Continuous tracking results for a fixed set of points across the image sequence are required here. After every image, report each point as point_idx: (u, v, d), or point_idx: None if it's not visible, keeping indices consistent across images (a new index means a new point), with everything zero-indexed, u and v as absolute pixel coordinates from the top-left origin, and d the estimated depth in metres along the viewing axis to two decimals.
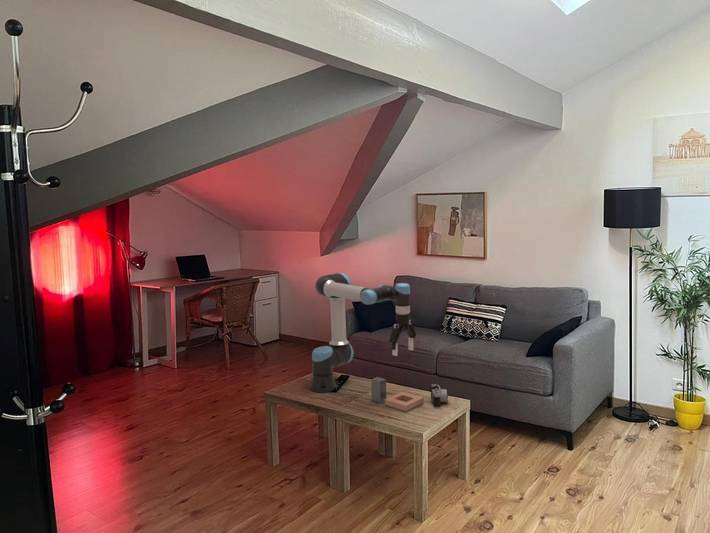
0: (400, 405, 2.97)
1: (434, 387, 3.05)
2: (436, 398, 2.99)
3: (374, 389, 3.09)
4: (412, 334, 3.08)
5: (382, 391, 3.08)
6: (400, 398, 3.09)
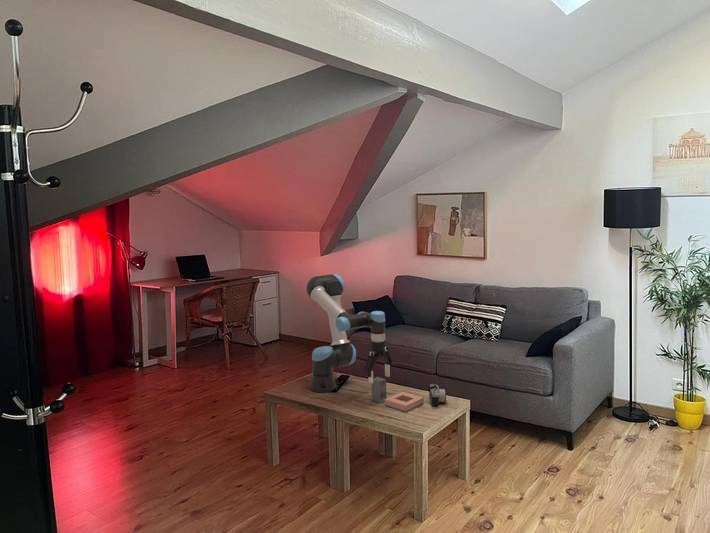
0: (400, 405, 2.97)
1: (432, 387, 3.05)
2: (434, 398, 2.99)
3: (374, 389, 3.09)
4: (388, 361, 3.12)
5: (382, 391, 3.08)
6: (400, 398, 3.09)
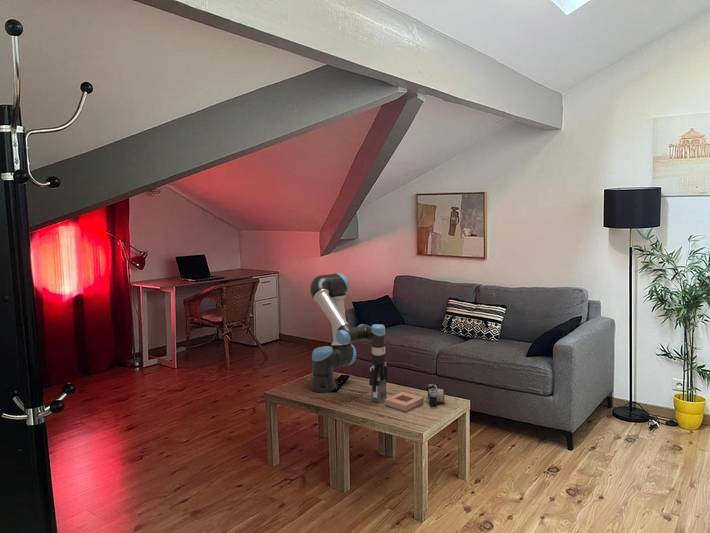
0: (400, 405, 2.97)
1: (431, 387, 3.05)
2: (432, 398, 2.99)
3: None
4: (384, 378, 3.11)
5: (382, 391, 3.08)
6: (400, 398, 3.09)
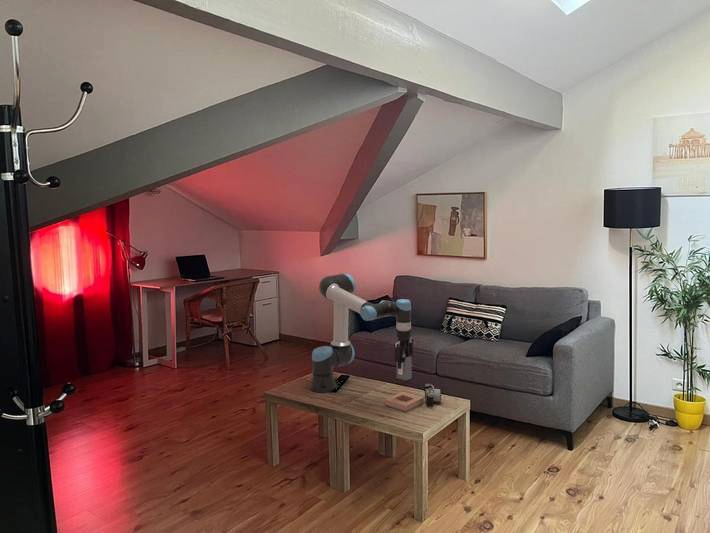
0: (400, 405, 2.97)
1: (427, 387, 3.05)
2: (429, 398, 3.00)
3: None
4: None
5: (408, 367, 3.00)
6: (400, 398, 3.09)
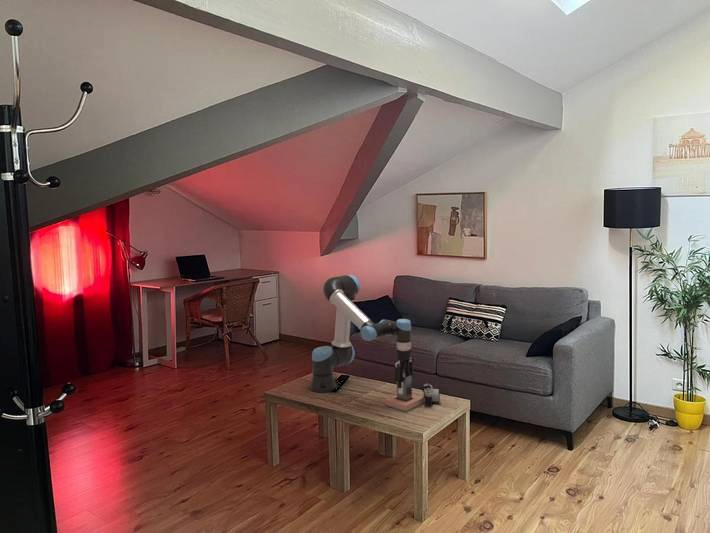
0: (400, 405, 2.97)
1: (426, 387, 3.05)
2: (427, 398, 3.00)
3: None
4: (409, 374, 3.04)
5: (408, 387, 3.01)
6: (400, 398, 3.09)
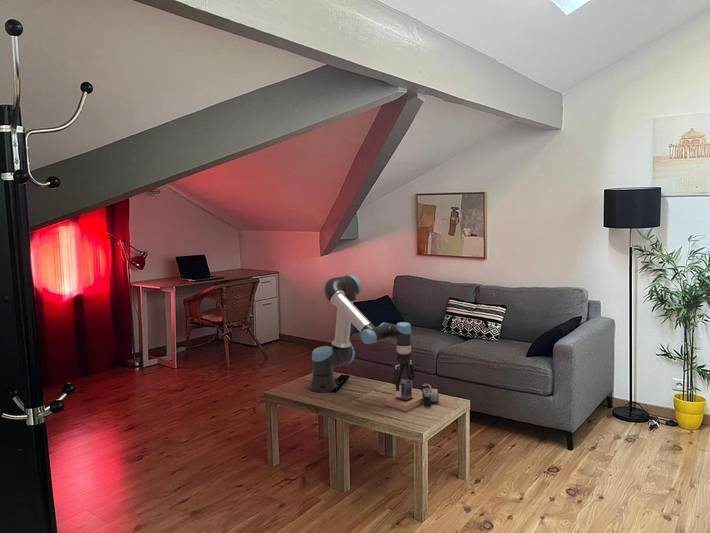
0: (400, 405, 2.97)
1: (425, 387, 3.06)
2: (426, 398, 3.00)
3: None
4: (411, 376, 3.05)
5: (408, 393, 3.02)
6: None
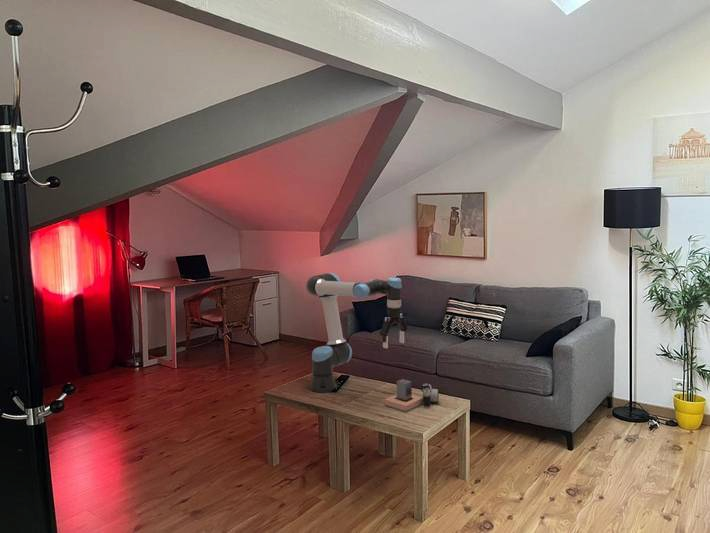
0: (400, 405, 2.97)
1: (425, 387, 3.06)
2: (426, 397, 3.00)
3: (399, 392, 3.03)
4: (403, 327, 3.15)
5: (408, 393, 3.02)
6: None
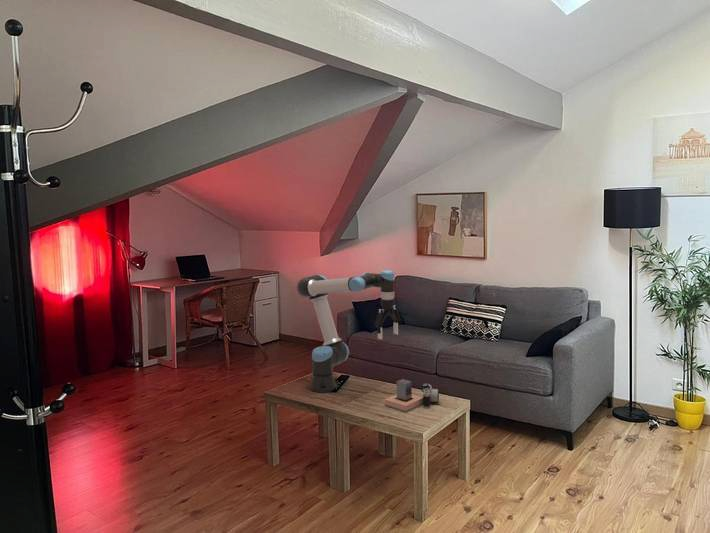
0: (400, 405, 2.97)
1: (425, 387, 3.06)
2: (425, 397, 3.00)
3: (399, 392, 3.03)
4: (397, 319, 3.23)
5: (408, 393, 3.02)
6: None
